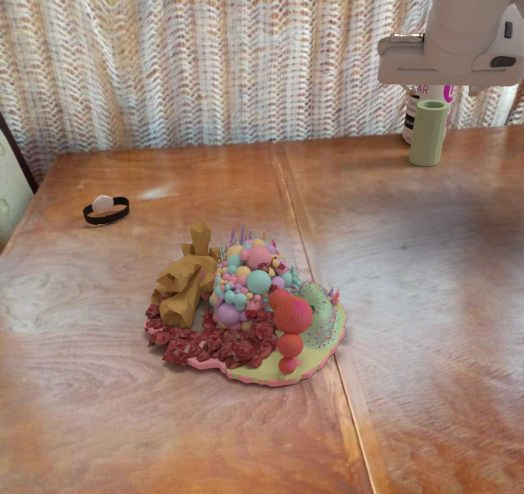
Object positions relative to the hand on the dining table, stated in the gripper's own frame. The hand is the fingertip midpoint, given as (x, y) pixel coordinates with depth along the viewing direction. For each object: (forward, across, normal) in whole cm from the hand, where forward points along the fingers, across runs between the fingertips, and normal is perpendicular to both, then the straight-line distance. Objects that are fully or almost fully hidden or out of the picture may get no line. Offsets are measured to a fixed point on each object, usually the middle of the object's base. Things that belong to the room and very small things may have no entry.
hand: (441, 91), depth 84 cm
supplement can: (+25, 0, +3) cm, 25 cm away
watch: (-3, -51, -24) cm, 57 cm away
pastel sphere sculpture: (-19, -23, -40) cm, 50 cm away
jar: (+17, 0, -4) cm, 18 cm away
